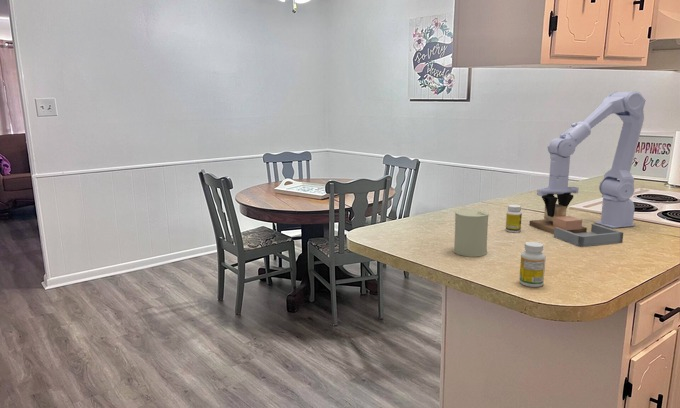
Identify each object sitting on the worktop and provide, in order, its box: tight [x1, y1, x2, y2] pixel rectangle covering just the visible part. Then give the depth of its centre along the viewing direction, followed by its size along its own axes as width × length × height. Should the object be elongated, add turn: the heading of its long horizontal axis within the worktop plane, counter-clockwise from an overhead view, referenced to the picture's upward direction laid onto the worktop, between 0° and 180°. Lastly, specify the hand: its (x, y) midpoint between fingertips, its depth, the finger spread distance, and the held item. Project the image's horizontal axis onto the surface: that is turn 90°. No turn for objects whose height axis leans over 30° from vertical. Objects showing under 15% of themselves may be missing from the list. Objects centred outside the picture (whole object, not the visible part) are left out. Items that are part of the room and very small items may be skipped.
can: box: [453, 208, 490, 258], centre depth 139 cm, size 9×9×12 cm
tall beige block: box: [543, 203, 568, 221], centre depth 163 cm, size 4×6×5 cm, turn 15°
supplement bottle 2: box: [519, 241, 546, 288], centre depth 115 cm, size 5×5×10 cm
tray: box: [553, 223, 624, 248], centre depth 150 cm, size 15×11×3 cm
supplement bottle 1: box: [505, 204, 523, 233], centre depth 161 cm, size 5×5×8 cm
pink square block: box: [553, 215, 583, 230], centre depth 158 cm, size 6×6×3 cm
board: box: [528, 218, 588, 235], centre depth 163 cm, size 11×14×2 cm
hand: (555, 215), depth 163 cm, fingers closed on tall beige block, 4 cm apart
